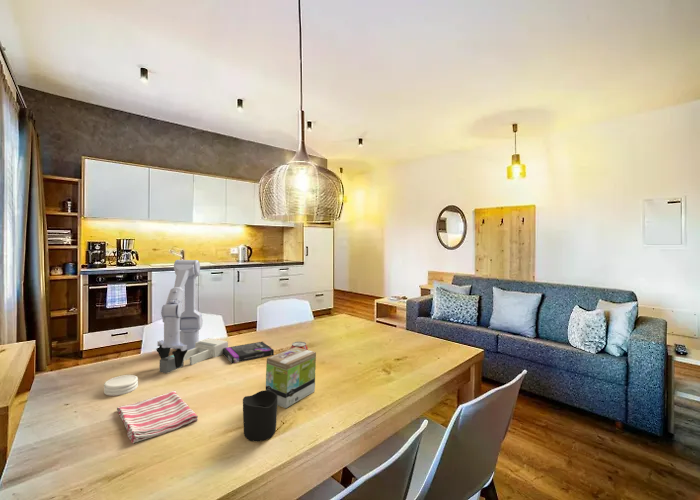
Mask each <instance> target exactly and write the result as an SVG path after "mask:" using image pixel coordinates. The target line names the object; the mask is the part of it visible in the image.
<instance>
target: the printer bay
mask: <svg viewBox="0 0 700 500" xmlns="http://www.w3.org/2000/svg"><path fill="white" fill-rule="evenodd" d="M227 347H229V341H226V340H221V339H215V338H210V337H208V338H206V339H201V340H199V342H196V343H195V348H193V349H191V350H188V351H187V352H186V354H185V356H184V362H185V361H187V360H189V366H190V365H191V366H193V365H195V364H198V363H200V362H203V361H205V360H207V359H209V358H216V357H217V358H218V357H219V356H222V355H223V348H227Z"/></svg>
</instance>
